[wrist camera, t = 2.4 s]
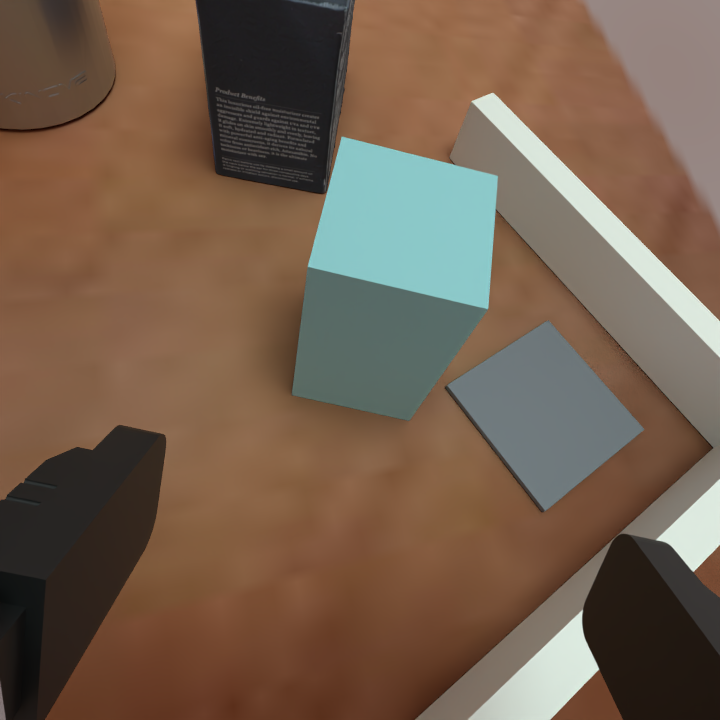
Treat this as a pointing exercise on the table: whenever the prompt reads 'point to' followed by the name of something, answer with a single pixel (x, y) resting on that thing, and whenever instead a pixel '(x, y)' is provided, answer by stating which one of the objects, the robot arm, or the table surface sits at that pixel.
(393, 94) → the table surface
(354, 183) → the teal block
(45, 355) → the table surface
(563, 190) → the white l-shaped bracket
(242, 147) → the small box
